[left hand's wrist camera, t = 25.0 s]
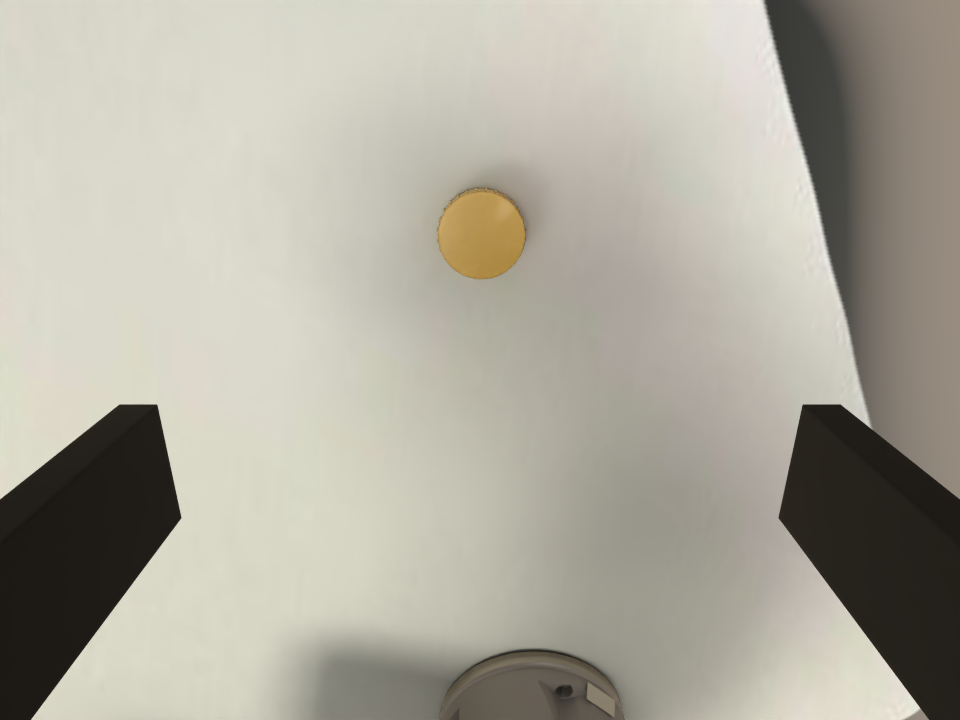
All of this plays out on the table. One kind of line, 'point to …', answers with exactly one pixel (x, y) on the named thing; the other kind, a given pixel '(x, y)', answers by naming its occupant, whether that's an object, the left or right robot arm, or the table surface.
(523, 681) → the left robot arm
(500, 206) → the lid
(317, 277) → the table surface
